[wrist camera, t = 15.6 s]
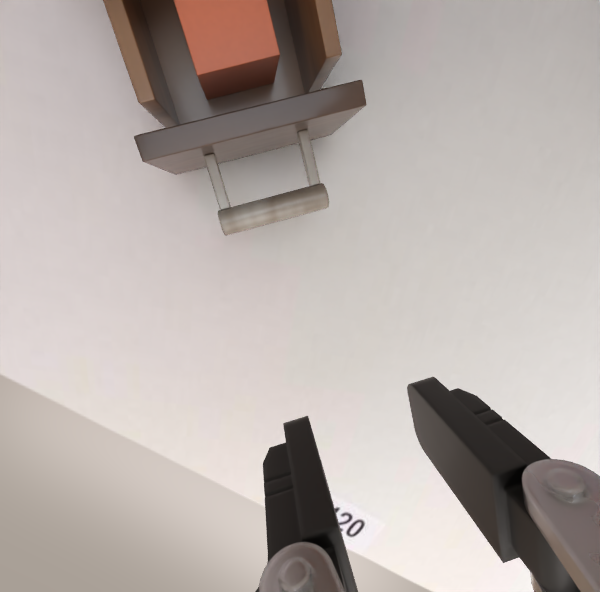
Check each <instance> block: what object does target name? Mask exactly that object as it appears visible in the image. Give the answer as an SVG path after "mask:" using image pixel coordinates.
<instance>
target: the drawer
mask: <svg viewBox="0 0 600 592" xmlns="http://www.w3.org/2000/svg"><path fill="white" fill-rule="evenodd" d="M103 1H104V4H105V7H106V10H107V13H108V16H109V19H110V22H111V24H112V27H113V30H114V33H115V36H116V39H117V42H118V45H119V47H120V50H121V53H122V56H123V59H124V62H125V65H126V68H127V70H128V73H129V76H130V79H131V82H132V85H133V88H134V91H135V93H136V96H137V99H138V102H139V103H140V104H141V105H142V106H143V107H144V108H145V109H146V110H147V111H148V112H149V113H151V114H152V115H153V116H154V117H155V118H156V119H157V120H158V121H159V122H160V123H161V124H162V125H164V126H165V127H166V128H164V129H160V130H156V131H152V132H148V133H144V134H140V135H136V136H134V138H135V141H136V144H137V147H138V150H139V152H140V155H141V158H142V161H143V162H146V163H148V164H151V165H153V166H155V167H158V168H160V169H163V170H165V171H168V172H170V173H173V174H175V175H177V174H181V173H184V172H188V171H192V170H196V169H200V168H204V167H207V169H208V172H209V175H210V178H211V181H212V185H213V188H214V191H215V194H216V197H217V201H218V204H219V207H220V209H221V210H219V211H218V217H219V221H220V224H221V227H222V230H223V232H224V234H225V235H230V234H234V233H237V232H241V231H245V230H248V229H252V228H256V227H259V226H263V225H267V224H270V223H274V222H278V221H281V220H285V219H289V218H292V217H296V216H300V215H304V214H307V213H311V212H315V211H318V210H322V209H326V208H328V207H329V198H328V194H327V190H326V188H325V186H324V184H323V183H320V180H319V176H318V171H317V167H316V162H315V158H314V154H313V149H312V145H311V141H310V140H313V139H316V138H320V137H324V136H328V135H331V134H333V133H334V132H335V131H336V130H337V129H338V128H340V127H341V126H342V125H343V124H344V123H346V122H347V121H348V120H349V119H350V118H351V117H353V116H354V115H355V114H356V113H357V112H359V111H360V110H361V109H362V108H363V107H365V106H366V99H365V94H364V88H363V83H362V80H358V81H354V82H350V83H346V84H342V85H338V86H333V87H329V88H325V89H321V90H320V88H321V87H322V85H323V84H324V82H325V80H326V79H327V77H328V76H329V74H330V72H331V71H332V69H333V67H334V66H335V64H336V63H337V61H338V59H339V58H340V56H341V55H342V52H341V47H340V42H339V36H338V31H337V26H336V21H335V16H334V10H333V5H332V0H267V3H268V7H269V11H270V15H271V19H272V23H273V27H274V31H275V35H276V39H277V44H278V48H279V52H280V57H279V62H278V66H277V71H276V76H275V81H274V83H271V84H267V85H263V86H260V87H256V88H252V89H248V90H244V91H240V92H236V93H232V94H228V95H225V96H221V97H217V98H213V99H209V100H207V99H206V97H205V94H204V92H203V89H202V87H201V84H200V82H199V79H198V77H197V74H196V71H195V67H194V64H193V61H192V58H191V55H190V51H189V48H188V45H187V42H186V38H185V35H184V32H183V29H182V26H181V22H180V19H179V16H178V13H177V9H176V6H175V3H174V0H103ZM297 143H299V145H300V149H301V153H302V157H303V162H304V166H305V170H306V174H307V178H308V183H309V187H305V188H302V189H298V190H294V191H290V192H287V193H283V194H279V195H275V196H272V197H268V198H264V199H260V200H257V201H253V202H249V203H245V204H242V205H238V206H234V207H230V203H229V200H228V196H227V193H226V190H225V186H224V183H223V180H222V177H221V173H220V170H219V167H218V164H219V163H223V162H227V161H231V160H235V159H239V158H243V157H247V156H250V155H254V154H258V153H262V152H266V151H270V150H274V149H278V148H282V147H285V146H289V145H293V144H297ZM319 183H320V184H319Z"/></svg>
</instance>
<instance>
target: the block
mask: <svg viewBox="0 0 600 592" xmlns="http://www.w3.org/2000/svg"><path fill="white" fill-rule="evenodd" d="M174 3H175V6H176V9H177V13H178V16H179V19H180V22H181V26H182V29H183V32H184V35H185V38H186V42H187V45H188V48H189V51H190V55H191V58H192V61H193V64H194V67H195V71H196V74H197V77H198V79H199V82H200V84H201V87H202V89H203V92H204V94H205V97H206V99H207V100H209V99H213V98H217V97H221V96H225V95H228V94H232V93H236V92H240V91H244V90H248V89H252V88H256V87H260V86H263V85H267V84H271V83H274V81H275V76H276V71H277V66H278V62H279V57H280V52H279V48H278V44H277V39H276V35H275V31H274V27H273V23H272V19H271V15H270V11H269V7H268V3H267V0H174Z"/></svg>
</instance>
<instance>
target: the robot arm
mask: <svg viewBox="0 0 600 592" xmlns="http://www.w3.org/2000/svg"><path fill="white" fill-rule="evenodd" d="M407 390H408V396H409V401H410V407H411V412H412V417H413V422H414V428H415V432H416V435H417V438H418V440H419V442H420V445H421V447H422V448H423V450H424V452H425V453H426V455H427V456H428V457H429V459H430V460H431V462H432V463H433V464H434V466H435V467H436V469H437V470H438V471H439V473H440V474H441V476H442V477H443V478H444V480H445V481H446V483H447V484H448V486H449V487H450V488H451V490H452V491H453V493H454V494H455V495H456V497H457V498H458V500H459V501H460V502H461V504H462V505H463V507H464V508H465V509H466V511H467V512H468V514H469V515H470V516H471V518H472V519H473V521H474V522H475V524H476V525H477V526H478V528H479V529H480V531H481V532H482V533H483V535H484V536H485V538H486V539H487V540H488V542H489V543H490V545H491V546H492V547H493V549H494V550H495V552H496V553H497V554H498V556H499V557H500V559H501V560H502V561H503V563H504V562H507V561H510V560H513V559H516V558H518V557H520V559H521V560H522V561H523V562H524V564H525V565H526V566H527V568H528V569H529V570H530V573H531V583H532V586H533V590H534V592H600V476H599V475H597V474H596V473H594V472H593V471H591V470H589V469H587V468H586V467H583V466H581V465H579V464H576V463H573V462H569V461H564V460H557V459H551V458H550V457H548V456H547V455H546V454H545V453H544V452H543V451H541V450H540V449H539V448H538V447H537V446H535V445H534V444H533V443H532V442H531V441H529V440H528V439H527V438H526V437H525V436H524V435H522V434H521V433H520V432H519V431H518V430H516V429H515V428H514V427H513V426H512V425H510V424H509V423H508V422H507V421H506V420H503V419H502V417H501V416H500V415H499V414H497V413H496V412H495V411H494V410H491V409H490V407H489V406H488V405H487V404H485V403H484V402H483V401H482V400H481V399H480V398H478V397H477V396H476V395H473V394H471V393H468V392H466V391H463V390H461V389H458V388H457V389H454V390H451V391H449V390H448V389H447V388H446V387H445V386H444V385H442V384H441V383H440V382H439V381H438V380H437V379H436V378H434V377H431V378H428V379H424V380H421V381H418V382H415V383H412V384H408V387H407ZM284 431H285V438H286V443H283V444H280V445H277V446H274V447H271V448H269V451H268V453H267V455H266V458H265V460H264V463H263V473H264V491H265V509H266V526H267V545H268V563H267V566H266V567H265V569H264V571H263V573H262V577H261V579H260V584H259V587H258V589H257V590H256V592H358V590H357V586H356V583H355V579H354V576H353V572H352V569H351V565H350V562H349V558H348V555H347V551H346V547H345V544H344V540H343V537H342V533H341V530H340V526H339V523H338V519H337V516H336V512H335V508H334V505H333V501H332V498H331V494H330V491H329V487H328V484H327V480H326V477H325V473H324V470H323V466H322V463H321V459H320V456H319V452H318V449H317V445H316V442H315V439H314V435H313V432H312V428H311V425H310V421H309V418H308V416H305V417H302V418H299V419H296V420H293V421H290V422H286V423H284Z"/></svg>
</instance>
